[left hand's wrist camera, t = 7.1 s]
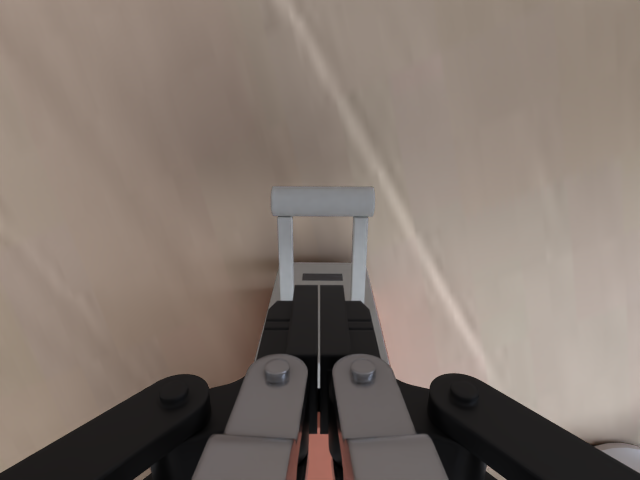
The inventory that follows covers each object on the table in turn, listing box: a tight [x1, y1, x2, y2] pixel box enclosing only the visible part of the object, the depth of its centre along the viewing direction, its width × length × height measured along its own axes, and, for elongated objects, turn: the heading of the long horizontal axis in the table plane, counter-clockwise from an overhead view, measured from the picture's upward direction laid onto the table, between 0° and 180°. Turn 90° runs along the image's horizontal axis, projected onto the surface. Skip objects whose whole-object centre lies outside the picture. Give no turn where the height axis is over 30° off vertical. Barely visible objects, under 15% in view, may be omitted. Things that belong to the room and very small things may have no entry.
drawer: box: [254, 186, 390, 412], centre depth 21 cm, size 22×5×10 cm, turn 0°
